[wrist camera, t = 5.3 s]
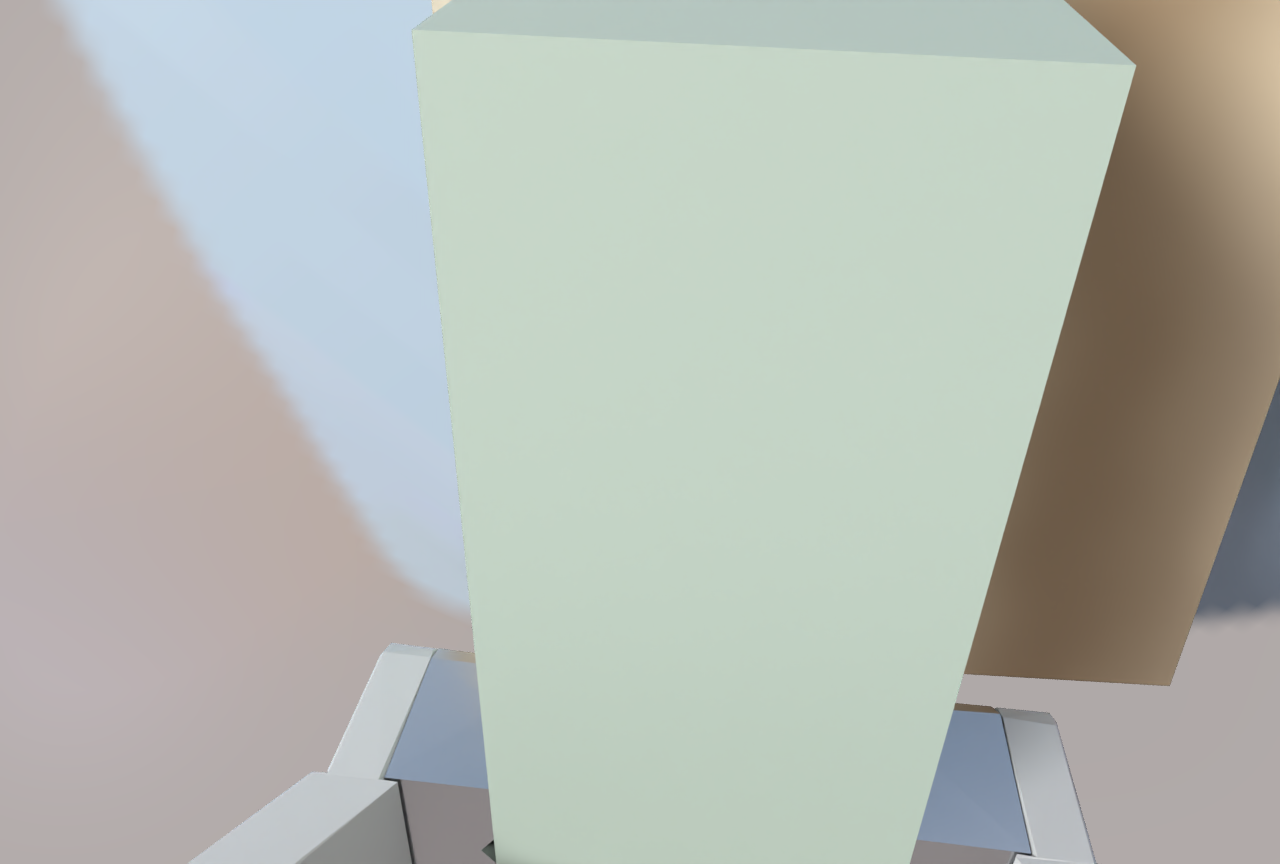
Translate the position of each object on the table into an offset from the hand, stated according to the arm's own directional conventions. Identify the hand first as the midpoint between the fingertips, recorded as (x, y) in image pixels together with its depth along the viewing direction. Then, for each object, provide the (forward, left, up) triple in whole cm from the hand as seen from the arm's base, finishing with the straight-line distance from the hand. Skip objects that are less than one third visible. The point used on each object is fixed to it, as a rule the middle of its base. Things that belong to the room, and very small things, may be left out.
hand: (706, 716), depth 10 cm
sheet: (0, 0, -14) cm, 14 cm away
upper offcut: (-6, 0, -12) cm, 13 cm away
